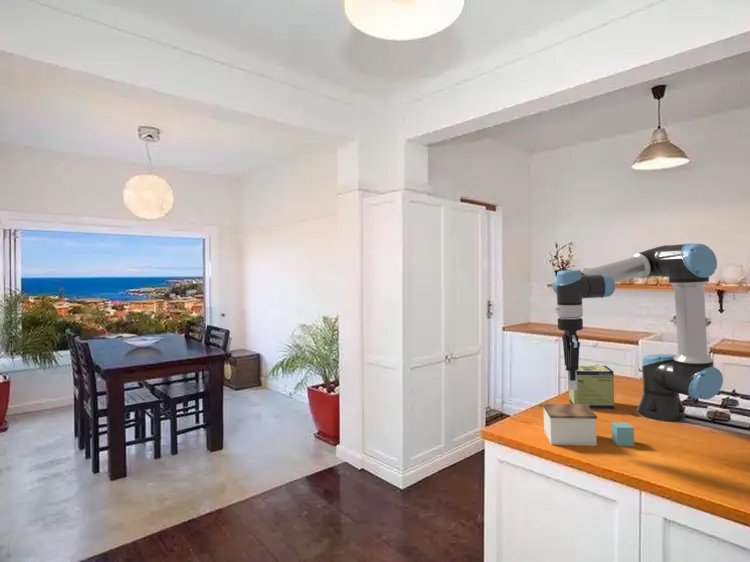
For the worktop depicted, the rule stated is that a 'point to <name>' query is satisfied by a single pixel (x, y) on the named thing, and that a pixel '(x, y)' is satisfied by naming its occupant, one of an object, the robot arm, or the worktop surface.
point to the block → (622, 434)
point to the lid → (569, 411)
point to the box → (570, 430)
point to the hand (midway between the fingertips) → (572, 389)
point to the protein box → (594, 387)
